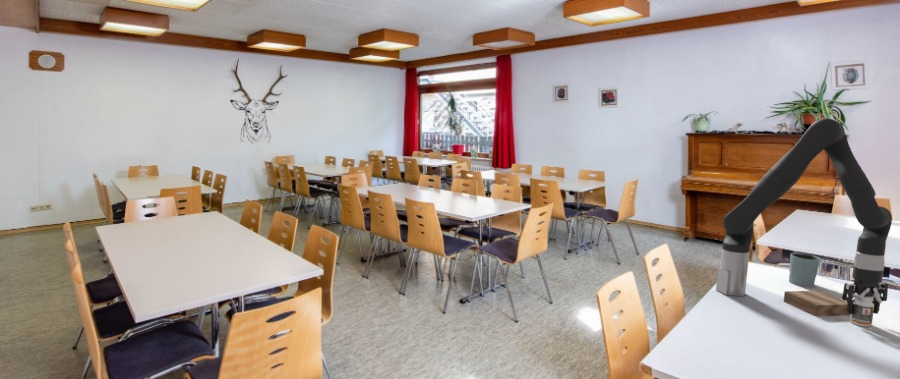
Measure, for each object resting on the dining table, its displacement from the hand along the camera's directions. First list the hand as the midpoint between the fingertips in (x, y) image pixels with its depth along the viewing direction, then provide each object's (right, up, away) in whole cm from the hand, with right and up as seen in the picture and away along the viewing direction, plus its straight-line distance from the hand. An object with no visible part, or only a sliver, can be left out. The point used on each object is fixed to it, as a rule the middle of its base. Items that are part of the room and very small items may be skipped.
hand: (862, 313), depth 161 cm
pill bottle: (0, -4, +1) cm, 4 cm away
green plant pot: (+10, +2, +42) cm, 43 cm away
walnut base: (-5, -2, +14) cm, 15 cm away
